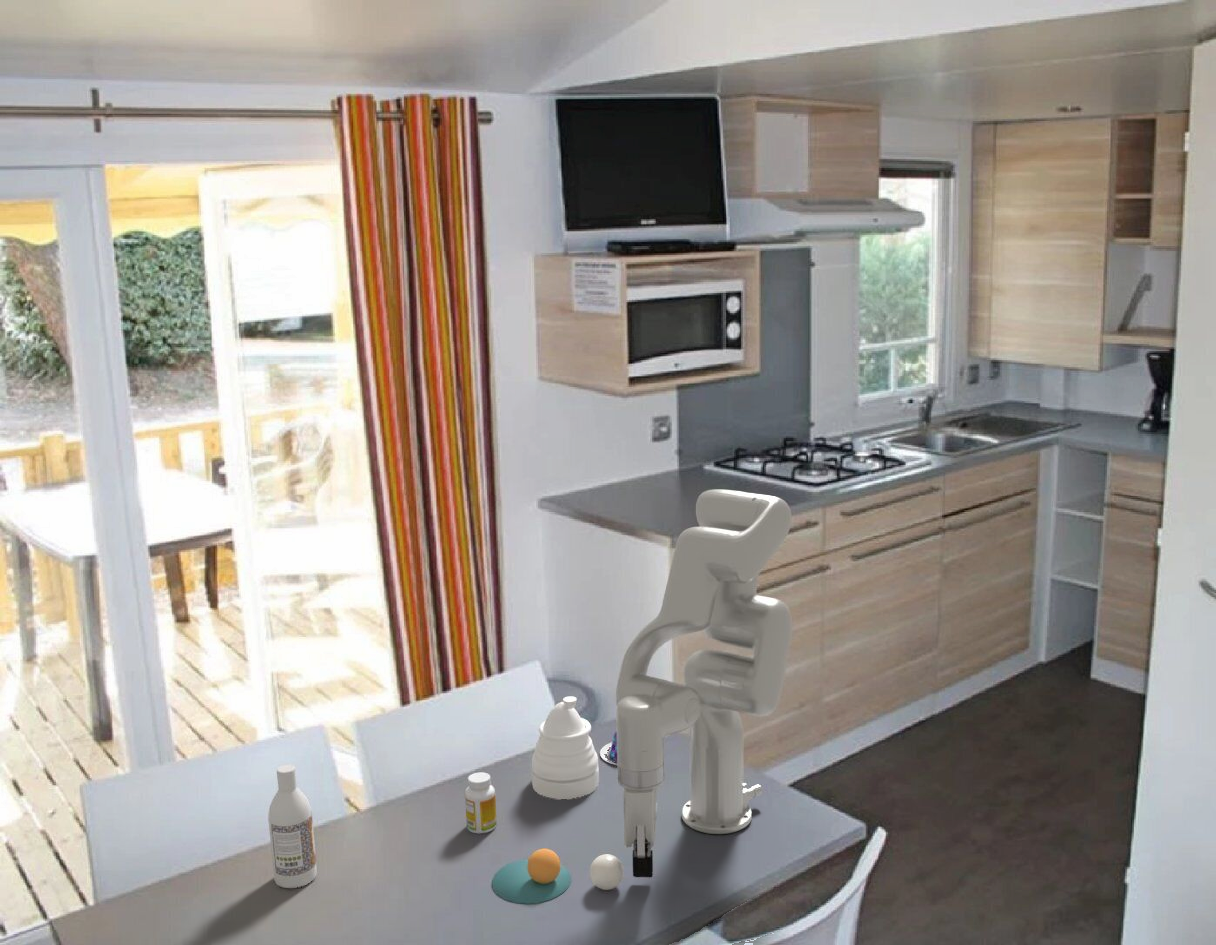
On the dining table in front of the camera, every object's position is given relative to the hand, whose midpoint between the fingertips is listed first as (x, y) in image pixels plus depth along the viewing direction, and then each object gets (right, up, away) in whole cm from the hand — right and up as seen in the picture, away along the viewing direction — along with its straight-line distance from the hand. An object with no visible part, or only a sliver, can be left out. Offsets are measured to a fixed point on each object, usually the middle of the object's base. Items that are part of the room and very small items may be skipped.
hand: (642, 874), depth 194 cm
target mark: (-18, -2, +2) cm, 18 cm away
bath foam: (-58, -2, +4) cm, 58 cm away
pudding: (-1, +8, +46) cm, 47 cm away
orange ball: (-16, +1, +1) cm, 16 cm away
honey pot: (-14, +6, +34) cm, 37 cm away
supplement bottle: (-28, +2, +19) cm, 34 cm away
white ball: (-6, +1, -1) cm, 6 cm away
